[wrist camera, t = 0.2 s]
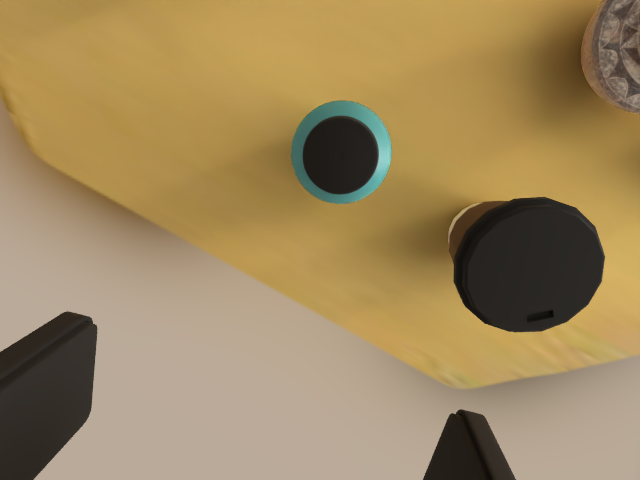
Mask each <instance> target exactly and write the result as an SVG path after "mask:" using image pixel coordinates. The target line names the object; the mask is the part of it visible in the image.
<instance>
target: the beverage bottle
mask: <svg viewBox="0 0 640 480" xmlns="http://www.w3.org/2000/svg"><path fill="white" fill-rule="evenodd" d="M391 156H392V147H391V141H390V137H389V134H388V131H387V129H386V127H385V125H384V123H383V122H382V121H381V119H380V118H379V117H378V116H377V115H376V114H375V113H374V112H373V111H372V110H370V109H369V108H367V107H365V106H364V105H361V104H359V103H356V102H352V101H333V102H329V103H325V104H323V105H321V106H319V107H317V108H315V109H314V110H312V111H311V112H310V113H309V114H308V115H307V116H306V117H305V118H304V119H303V120H302V122H301V123H300V124H299V126H298V128H297V130H296V132H295V135H294V138H293V141H292V147H291V159H292V165H293V169H294V171H295V174H296V176H297V178H298V180H299V181H300V183H301V184H302V186H303V187H304V188H305V189H306V190H307V191H308V192H309V193H311V194H312V195H313V196H315V197H317V198H318V199H320V200H323V201H325V202H329V203H335V204H346V203H352V202H356V201H358V200H361V199H363V198H365V197H367V196H368V195H370V194H371V193H372V192H373V191H375V190H376V189H377V188H378V186H379V185H380V184H381V183H382V181H383V180H384V178H385V176H386V174H387V172H388V169H389V167H390V163H391Z"/></svg>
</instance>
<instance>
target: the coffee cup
mask: <svg viewBox="0 0 640 480" xmlns="http://www.w3.org/2000/svg"><path fill="white" fill-rule="evenodd" d="M448 243H449V251H450V254H451V257H452V260H453V263H454V283H455V286H456V288H457V290H458V293H459V295H460V297H461V299H462V302H463V304H464V305H465V307H466V308H468V309H469V310H470V311H471V312H472V313H473V314H474V315H476V316H477V317H478V318H479V319H480V320H481V321H482V322H484V323H485V324H488V325H491V326H494V327H497V328H500V329H503V330H506V331H509V332H512V331H513V332H538V331H544V330H546V329H549V328H552V327H554V326H557V325H560V324H562V323H565V322H567V321H569V320H570V319H571V318H572V317H573V316H575V315H576V314H577V313H578V312H580V311H581V310H582V309H583V308H584V307H586V306H587V305H588V304H589V302H590V300H591V299H592V297H593V295H594V294H595V292H596V290H597V289H598V287H599V285H600V284H601V282H602V275H603V268H604V260H605V255H604V252H603V249H602V246H601V243H600V240H599V237H598V234H597V231H596V228H595V226H594V225H593V224H592V223H591V222H590V221H589V220H588V219H587V218H586V217H585V216H584V215H583V214H582V213H581V212H580V211H579V210H578V209H576V208H575V207H572V206H569V205H566V204H563V203H560V202H558V201H555V200H552V199H549V198H546V197H536V198H519V199H513V200H511V201H491V202H483V203H475V204H473V205H471V206H469V207H466V208H464V209H463V210H462V211H461V212H460V213H459V214H458V215H457V216H456V217H455V218H454V219H453V221H452V224H451V226H450V228H449V238H448Z"/></svg>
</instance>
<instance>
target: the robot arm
mask: <svg viewBox="0 0 640 480" xmlns="http://www.w3.org/2000/svg"><path fill="white" fill-rule="evenodd" d="M96 341H97V326H96V325H95V324H93V321H92V318H90V317H88V316H84V315H80V314H76V313H72V312H64V313H62V314H60V315H59V316H57V317H56V318H54V319H53V320H51V321H49V322H48V323H47V324H44V325H43V326H41V327H40V328H38V329H37V330H35V331H33V332H32V333H30V334H29V335H27V336H25V337H24V338H22V339H21V340H19V341H17V342H16V343H14V344H12V345H11V346H9V347H8V348H6V349H4V350H3V351H1V352H0V480H33V479H34V478H35V477H36V476H37V475H38V474H39V473H40V472H41V471H42V470H43V468H44V467H45V466H46V465H47V464H48V463H49V462H50V461H51V460H52V458H53V457H54V456H55V455H56V454H57V453H58V452H59V451H60V450H61V449H62V448H63V446H64V445H65V444H66V443H67V442H68V441H69V440H70V439H71V438H72V437H73V435H74V434H75V433H76V432H77V431H78V430H79V429H80V428H81V427H82V426H83V424H84V423H85V422H86V420H87V418H88V417H89V414H90V412H91V405H92V392H93V380H94V379H93V378H94V365H95V354H96ZM423 480H516V479H515V477H514V475H513V473H512V471H511V469H510V467H509V465H508V463H507V461H506V459H505V457H504V455H503V453H502V451H501V449H500V447H499V444H498V443H497V440H496V439H495V436H494V434H493V432H492V430H491V428H490V426H489V425H488V422H487V420H486V418H485V417H484V416H483V415H481V414H477V413H474V412H470V411H465V410H458V411H457V413H456V414H453V413H452V414H450V415H449V417H448V419H447V422H446V424H445V427H444V429H443V432H442V434H441V437H440V439H439V442H438V444H437V447H436V449H435V451H434V454H433V456H432V459H431V461H430V464H429V466H428V469H427V471H426V473H425V476H424V478H423Z"/></svg>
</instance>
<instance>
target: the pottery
mask: <svg viewBox="0 0 640 480" xmlns="http://www.w3.org/2000/svg"><path fill="white" fill-rule="evenodd" d="M581 65H582V69H583V73H584V75H585V78H586V80H587V82H588V84H589V85H590V86H591V88H592V89H593V90H594V91H595V93H596V94H597V95H598V96H599V97H600V98H602V99H603V100H604V101H605V102H607V103H609V104H611V105H613V106H614V107H617V108H619V109H622V110H624V111H628V112H632V113H636V114H640V0H603V1H602V2H601V3H600V4H599V6H598V7H597V9H596V10H595V12H594V14H593V15H592V17H591V19H590V21H589V23H588V25H587V27H586V30H585V33H584V37H583V41H582V46H581Z"/></svg>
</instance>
